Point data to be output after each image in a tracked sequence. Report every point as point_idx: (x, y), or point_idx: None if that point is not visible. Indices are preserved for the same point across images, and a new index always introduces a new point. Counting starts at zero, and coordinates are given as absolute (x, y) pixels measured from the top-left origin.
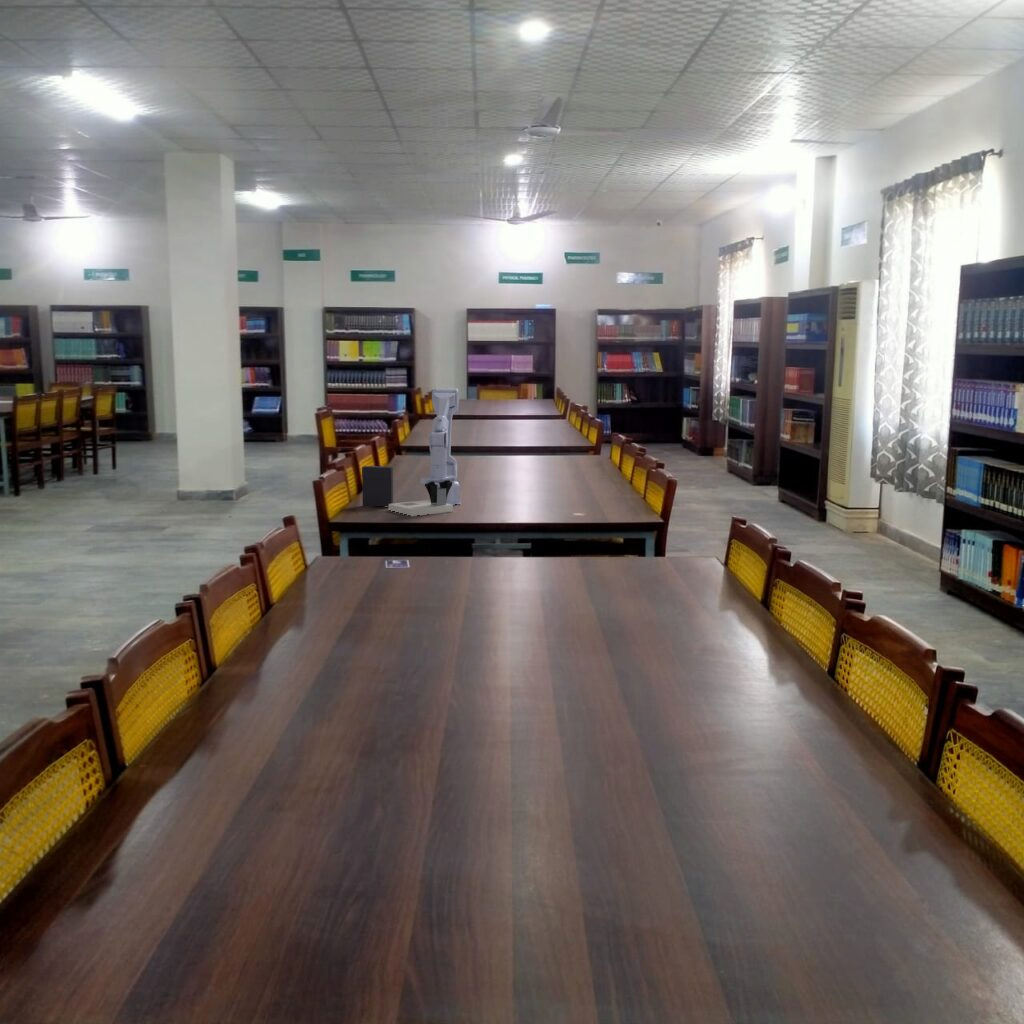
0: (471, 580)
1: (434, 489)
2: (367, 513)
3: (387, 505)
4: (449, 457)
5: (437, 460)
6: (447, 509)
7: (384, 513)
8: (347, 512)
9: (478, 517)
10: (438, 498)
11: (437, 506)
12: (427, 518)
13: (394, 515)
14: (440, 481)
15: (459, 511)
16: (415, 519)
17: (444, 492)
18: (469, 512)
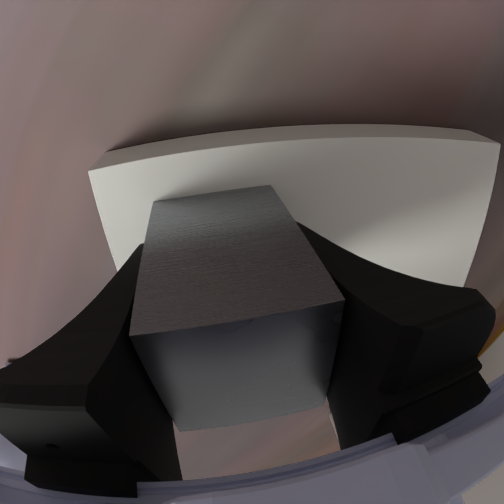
0: None
1: (401, 285)
2: (492, 295)
3: None
4: None
5: None
6: (162, 147)
7: (471, 275)
8: (497, 326)
9: None
10: (271, 222)
11: (290, 146)
12: (440, 11)
13: (487, 210)
14: (233, 487)
15: (51, 149)
16: (493, 43)
17: (170, 282)
18: (4, 77)
